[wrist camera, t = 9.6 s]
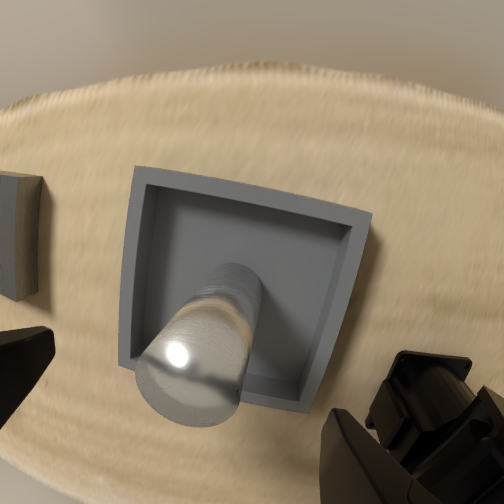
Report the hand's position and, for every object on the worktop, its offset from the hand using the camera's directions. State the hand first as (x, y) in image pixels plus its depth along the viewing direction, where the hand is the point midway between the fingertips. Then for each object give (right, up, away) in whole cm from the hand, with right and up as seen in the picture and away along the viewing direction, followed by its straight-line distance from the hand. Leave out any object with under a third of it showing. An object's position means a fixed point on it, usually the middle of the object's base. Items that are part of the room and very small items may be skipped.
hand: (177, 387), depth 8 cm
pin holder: (-17, +6, +11) cm, 21 cm away
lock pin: (+1, +2, +9) cm, 9 cm away
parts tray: (+1, +2, +9) cm, 10 cm away
